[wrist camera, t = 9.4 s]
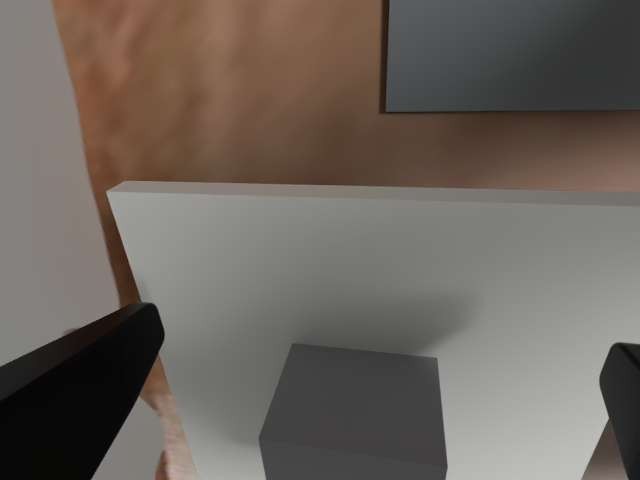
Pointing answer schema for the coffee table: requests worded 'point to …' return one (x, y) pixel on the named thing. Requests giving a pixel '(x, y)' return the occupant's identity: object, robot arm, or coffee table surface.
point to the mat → (513, 55)
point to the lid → (385, 324)
